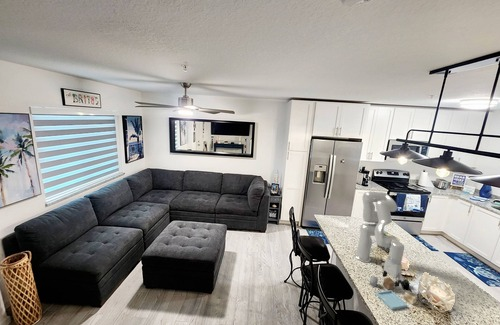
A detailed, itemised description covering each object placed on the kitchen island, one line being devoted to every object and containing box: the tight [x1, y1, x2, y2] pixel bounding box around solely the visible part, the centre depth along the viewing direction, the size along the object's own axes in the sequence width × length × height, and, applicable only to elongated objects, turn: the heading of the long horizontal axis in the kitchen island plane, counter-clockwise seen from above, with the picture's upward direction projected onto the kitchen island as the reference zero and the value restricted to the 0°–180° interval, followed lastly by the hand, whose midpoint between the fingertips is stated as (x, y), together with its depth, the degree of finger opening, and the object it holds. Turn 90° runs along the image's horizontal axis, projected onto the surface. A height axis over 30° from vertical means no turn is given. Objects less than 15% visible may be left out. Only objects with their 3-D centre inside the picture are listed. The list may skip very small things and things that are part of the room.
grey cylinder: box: [369, 275, 379, 288], centre depth 149 cm, size 4×4×5 cm
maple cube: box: [403, 290, 418, 306], centre depth 137 cm, size 5×5×5 cm
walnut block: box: [382, 277, 395, 291], centre depth 147 cm, size 4×4×6 cm
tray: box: [375, 290, 408, 311], centre depth 136 cm, size 12×12×2 cm
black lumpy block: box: [399, 278, 413, 293], centre depth 150 cm, size 12×7×5 cm, turn 160°
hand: (390, 281), depth 146 cm, fingers open, 9 cm apart
